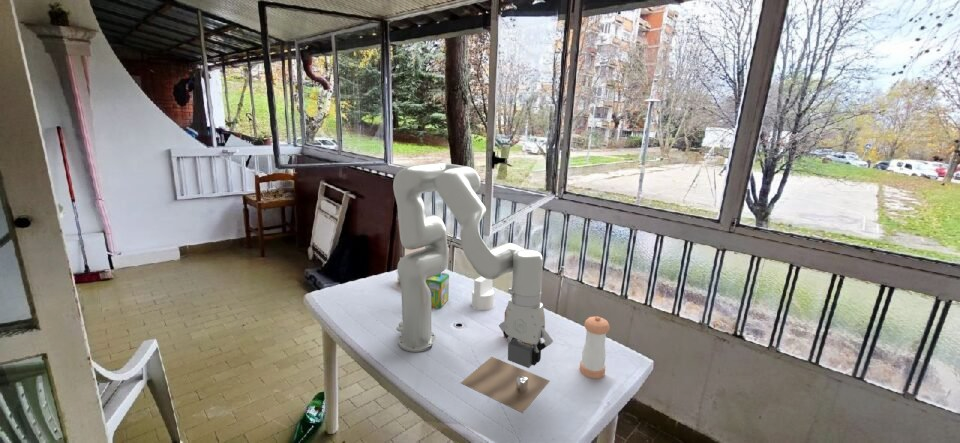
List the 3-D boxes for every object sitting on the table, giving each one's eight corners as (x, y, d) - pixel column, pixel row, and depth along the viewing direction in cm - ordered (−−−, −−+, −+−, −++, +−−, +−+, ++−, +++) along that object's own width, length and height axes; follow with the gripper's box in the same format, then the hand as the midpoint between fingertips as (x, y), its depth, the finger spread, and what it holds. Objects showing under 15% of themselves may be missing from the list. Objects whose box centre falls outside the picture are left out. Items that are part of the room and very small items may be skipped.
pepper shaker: (589, 385, 118) (595, 325, 113) (574, 370, 124) (579, 313, 119) (609, 379, 121) (616, 320, 116) (593, 365, 127) (599, 309, 122)
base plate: (460, 387, 116) (460, 382, 115) (491, 360, 128) (491, 356, 128) (522, 417, 105) (522, 412, 104) (549, 385, 117) (550, 380, 117)
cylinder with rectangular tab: (480, 298, 172) (481, 271, 168) (498, 304, 167) (499, 276, 163) (467, 305, 164) (467, 278, 161) (485, 312, 159) (486, 283, 156)
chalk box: (419, 305, 164) (419, 271, 160) (428, 296, 172) (428, 263, 169) (441, 309, 161) (440, 274, 158) (449, 299, 170) (449, 265, 166)
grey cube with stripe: (507, 360, 110) (508, 342, 109) (519, 349, 115) (520, 332, 114) (528, 368, 106) (529, 350, 105) (540, 356, 111) (540, 339, 110)
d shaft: (514, 389, 113) (515, 379, 112) (519, 384, 115) (519, 374, 114) (522, 393, 112) (523, 382, 111) (527, 388, 114) (527, 378, 113)
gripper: (490, 294, 108) (489, 354, 113) (550, 311, 98) (546, 377, 103) (505, 284, 114) (504, 342, 118) (563, 300, 104) (559, 362, 109)
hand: (524, 358), depth 111 cm, fingers closed on grey cube with stripe, 6 cm apart
